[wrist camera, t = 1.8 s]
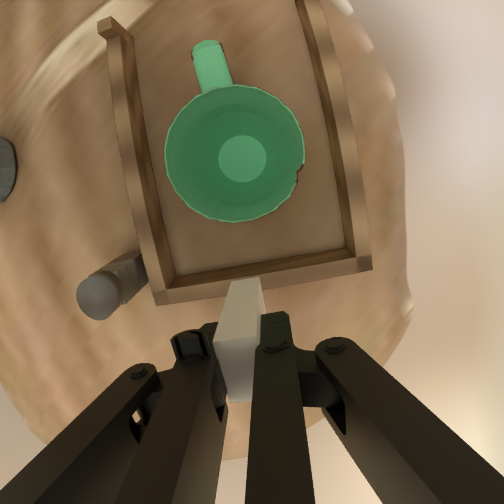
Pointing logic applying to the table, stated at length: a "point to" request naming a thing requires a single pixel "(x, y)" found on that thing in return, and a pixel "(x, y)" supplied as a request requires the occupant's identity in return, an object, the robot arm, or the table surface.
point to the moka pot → (6, 168)
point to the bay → (148, 209)
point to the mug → (232, 145)
